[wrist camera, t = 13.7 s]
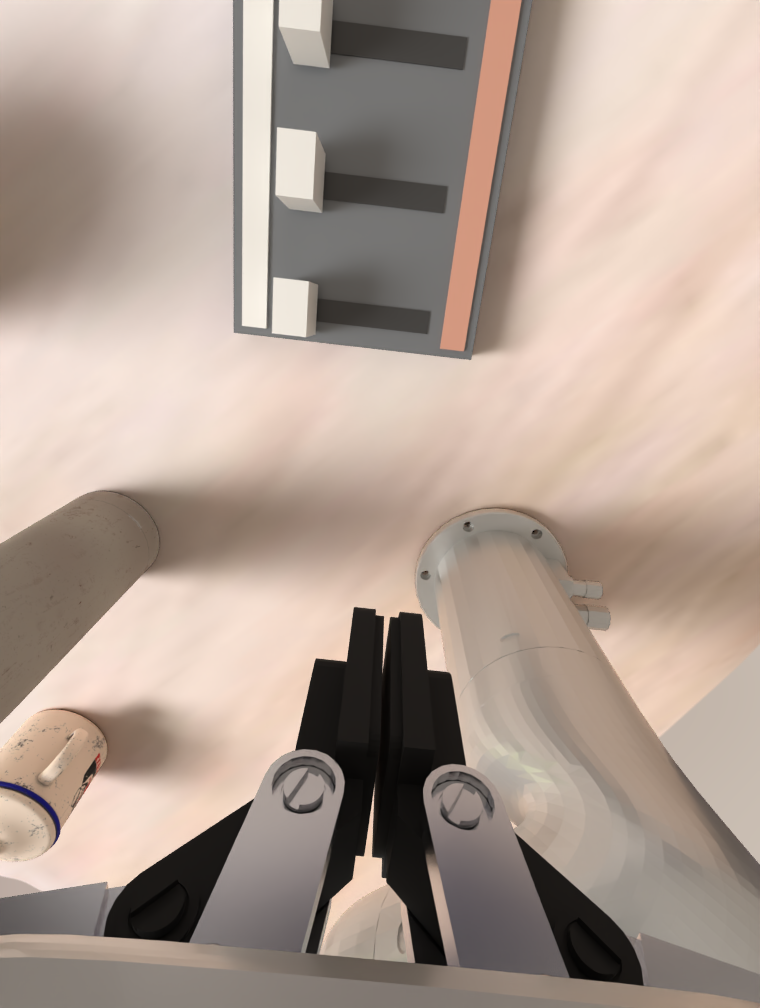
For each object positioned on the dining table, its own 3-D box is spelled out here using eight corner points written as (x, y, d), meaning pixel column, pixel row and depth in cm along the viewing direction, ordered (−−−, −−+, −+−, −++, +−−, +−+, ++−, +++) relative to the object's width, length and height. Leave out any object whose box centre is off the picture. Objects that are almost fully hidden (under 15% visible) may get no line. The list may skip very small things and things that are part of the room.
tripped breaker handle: (333, -3, 26) (323, -52, 22) (329, 68, 27) (319, 31, 23) (295, -7, 26) (280, -58, 22) (293, 63, 27) (278, 26, 23)
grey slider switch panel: (546, -128, 26) (595, -266, 20) (465, 356, 35) (481, 366, 29) (247, -169, 26) (200, -322, 20) (244, 331, 35) (212, 335, 29)
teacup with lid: (80, 785, 52) (-2, 909, 41) (4, 738, 50) (-103, 856, 39) (145, 726, 49) (76, 844, 38) (68, 673, 47) (-30, 783, 36)
